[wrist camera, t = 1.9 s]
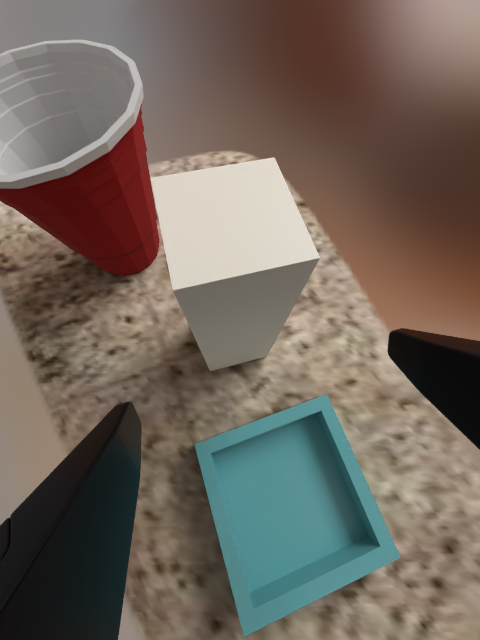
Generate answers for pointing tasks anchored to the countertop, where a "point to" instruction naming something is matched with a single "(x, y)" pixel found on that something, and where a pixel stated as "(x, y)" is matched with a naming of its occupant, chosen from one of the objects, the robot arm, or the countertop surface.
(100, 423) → the robot arm
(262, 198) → the cream block
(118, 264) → the plastic cup
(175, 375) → the countertop surface
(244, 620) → the teal dish
